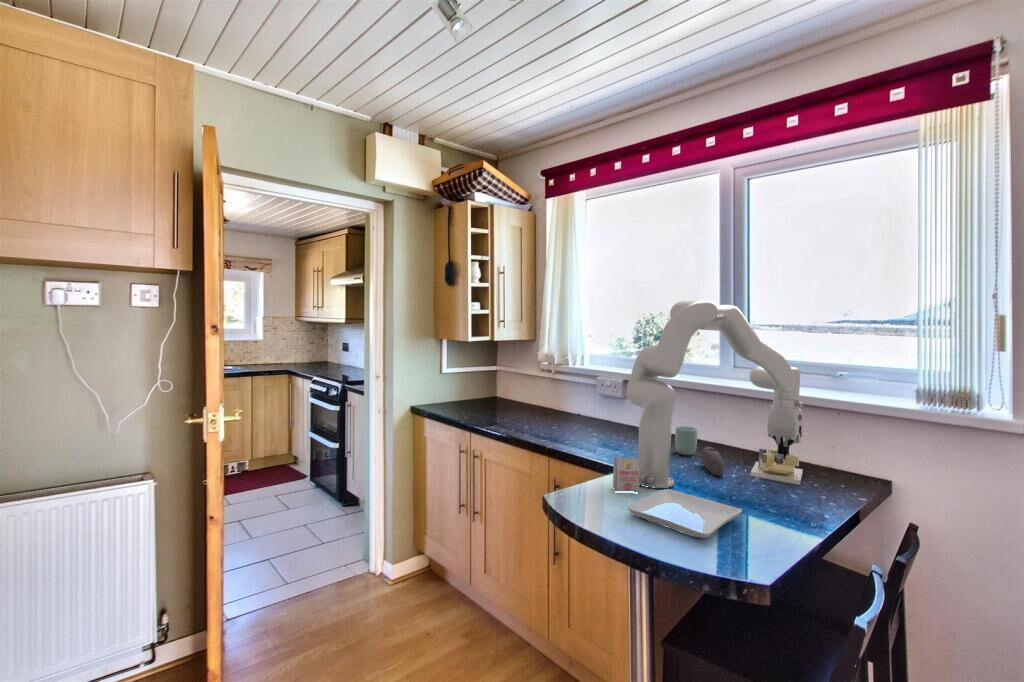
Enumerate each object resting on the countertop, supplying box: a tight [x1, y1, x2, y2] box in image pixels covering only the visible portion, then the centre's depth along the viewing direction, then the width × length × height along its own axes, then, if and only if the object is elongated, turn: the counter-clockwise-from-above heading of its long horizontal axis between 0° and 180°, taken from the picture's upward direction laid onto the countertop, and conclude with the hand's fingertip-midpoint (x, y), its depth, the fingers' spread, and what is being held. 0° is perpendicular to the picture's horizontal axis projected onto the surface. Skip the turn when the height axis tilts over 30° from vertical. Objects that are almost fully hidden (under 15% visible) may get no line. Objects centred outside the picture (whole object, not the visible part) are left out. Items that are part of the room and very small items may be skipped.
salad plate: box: [626, 488, 743, 539], centre depth 123 cm, size 21×21×3 cm
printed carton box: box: [612, 457, 640, 493], centre depth 141 cm, size 4×7×10 cm, turn 88°
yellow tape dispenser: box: [760, 447, 800, 474], centre depth 160 cm, size 11×11×6 cm
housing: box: [750, 448, 803, 486], centre depth 161 cm, size 14×14×7 cm
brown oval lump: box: [700, 446, 725, 477], centre depth 162 cm, size 15×5×7 cm, turn 171°
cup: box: [674, 425, 699, 457], centre depth 183 cm, size 8×8×10 cm
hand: (783, 457), depth 164 cm, fingers closed
